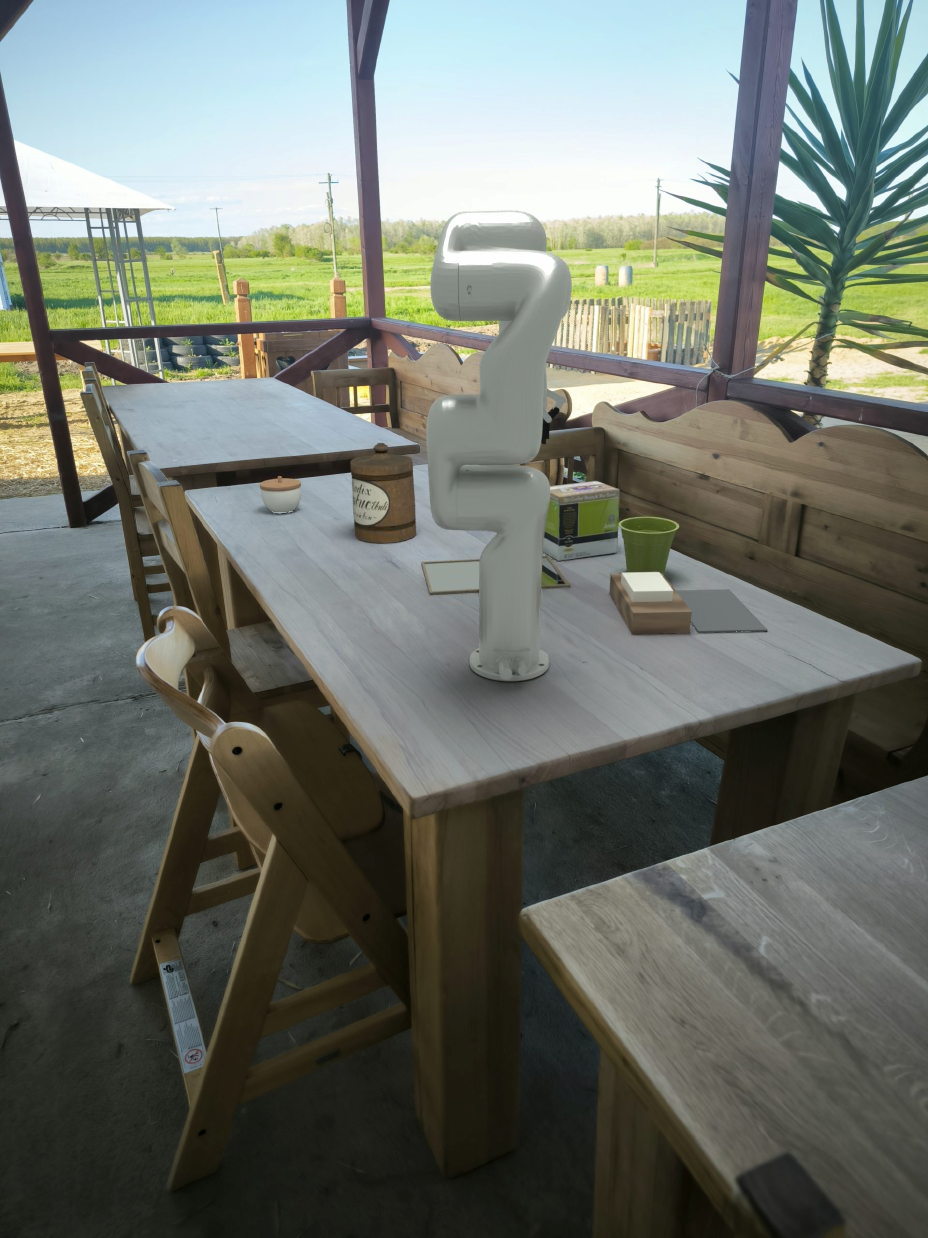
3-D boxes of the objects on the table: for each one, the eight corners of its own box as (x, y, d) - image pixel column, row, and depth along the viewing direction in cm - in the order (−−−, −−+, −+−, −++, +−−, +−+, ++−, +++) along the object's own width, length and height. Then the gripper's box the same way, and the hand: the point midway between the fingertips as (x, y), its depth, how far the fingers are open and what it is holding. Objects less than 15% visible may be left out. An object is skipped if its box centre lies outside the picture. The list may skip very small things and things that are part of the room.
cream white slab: (672, 601, 143) (673, 590, 142) (632, 602, 143) (633, 591, 142) (658, 582, 152) (659, 572, 152) (621, 582, 152) (621, 572, 151)
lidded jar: (268, 506, 224) (264, 472, 220) (307, 506, 223) (304, 472, 220) (257, 516, 214) (253, 480, 210) (298, 516, 213) (295, 481, 210)
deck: (689, 633, 140) (691, 611, 138) (631, 634, 140) (633, 612, 138) (660, 592, 158) (662, 573, 157) (609, 593, 158) (610, 574, 157)
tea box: (595, 542, 190) (598, 479, 184) (617, 554, 181) (622, 488, 176) (537, 549, 185) (538, 485, 179) (557, 562, 176) (560, 495, 171)
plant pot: (627, 564, 174) (630, 513, 170) (681, 573, 169) (686, 521, 164) (606, 581, 165) (609, 527, 161) (663, 591, 159) (668, 535, 155)
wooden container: (342, 534, 198) (336, 443, 189) (391, 523, 207) (388, 435, 198) (378, 547, 187) (374, 452, 179) (428, 535, 196) (426, 443, 188)
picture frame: (429, 597, 159) (569, 589, 162) (429, 592, 158) (570, 584, 162) (421, 566, 176) (547, 559, 180) (421, 561, 176) (548, 555, 179)
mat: (767, 631, 140) (767, 629, 140) (698, 633, 140) (698, 630, 140) (729, 591, 159) (729, 589, 159) (667, 592, 159) (668, 590, 158)
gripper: (473, 350, 144) (473, 447, 151) (570, 349, 145) (566, 446, 151) (470, 348, 151) (471, 441, 158) (563, 346, 152) (559, 439, 158)
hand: (517, 443), depth 154 cm, fingers open, 9 cm apart
